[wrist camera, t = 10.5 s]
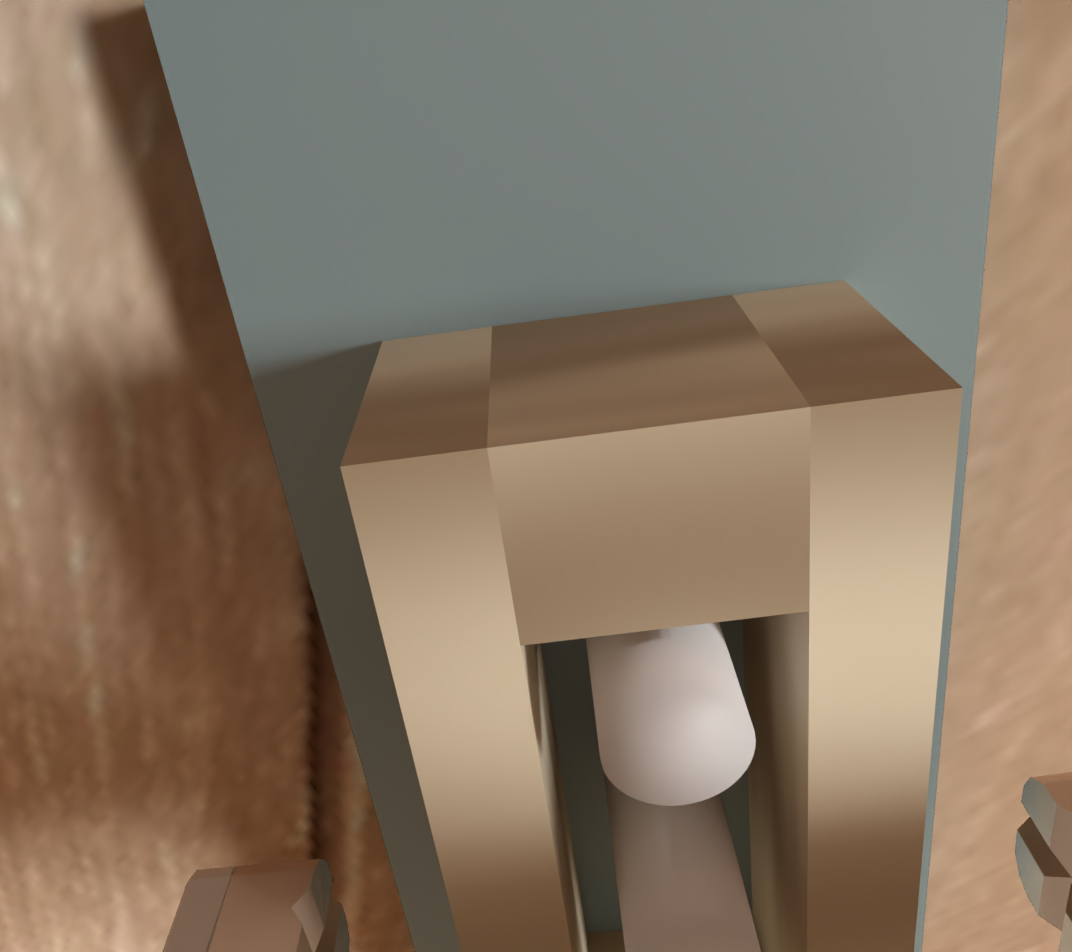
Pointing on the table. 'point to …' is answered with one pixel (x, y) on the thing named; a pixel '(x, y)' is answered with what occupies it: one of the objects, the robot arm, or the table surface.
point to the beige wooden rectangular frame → (668, 584)
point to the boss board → (576, 289)
